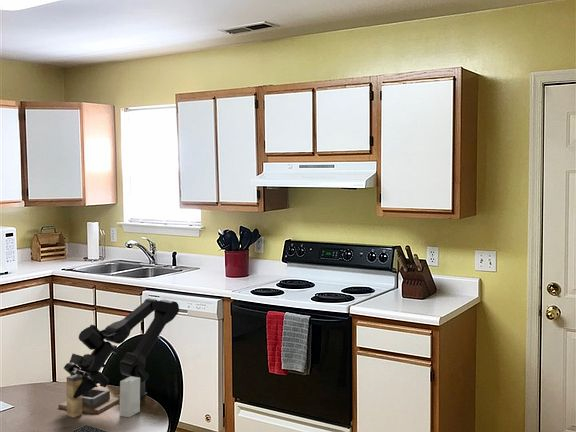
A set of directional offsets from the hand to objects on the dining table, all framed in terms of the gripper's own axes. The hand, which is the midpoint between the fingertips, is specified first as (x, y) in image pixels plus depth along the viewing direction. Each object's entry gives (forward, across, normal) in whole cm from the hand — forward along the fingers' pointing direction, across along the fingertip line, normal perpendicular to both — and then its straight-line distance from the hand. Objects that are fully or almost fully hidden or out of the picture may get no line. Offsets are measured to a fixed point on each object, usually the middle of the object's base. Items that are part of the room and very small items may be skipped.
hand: (70, 396), depth 218 cm
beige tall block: (+4, 0, +6) cm, 7 cm away
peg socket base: (-3, -4, +12) cm, 13 cm away
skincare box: (-5, +14, +15) cm, 21 cm away
